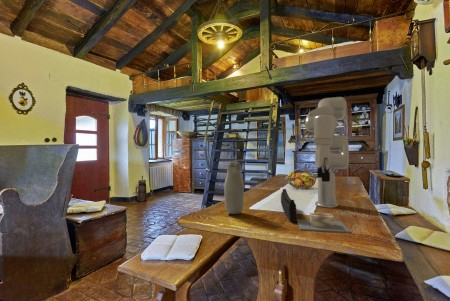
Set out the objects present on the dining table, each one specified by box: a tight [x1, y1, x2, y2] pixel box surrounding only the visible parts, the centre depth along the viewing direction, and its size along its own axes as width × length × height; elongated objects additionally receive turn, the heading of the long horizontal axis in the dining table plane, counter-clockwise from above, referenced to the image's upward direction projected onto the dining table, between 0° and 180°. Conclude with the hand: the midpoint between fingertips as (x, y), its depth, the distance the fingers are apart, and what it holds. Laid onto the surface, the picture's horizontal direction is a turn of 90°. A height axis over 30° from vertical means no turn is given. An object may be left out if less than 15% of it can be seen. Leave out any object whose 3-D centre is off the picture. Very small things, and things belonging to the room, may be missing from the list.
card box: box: [309, 212, 334, 227], centre depth 105 cm, size 9×5×5 cm, turn 77°
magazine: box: [280, 188, 298, 222], centre depth 123 cm, size 17×3×30 cm
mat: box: [296, 218, 351, 234], centre depth 105 cm, size 13×20×1 cm, turn 80°
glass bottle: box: [223, 160, 245, 215], centre depth 125 cm, size 10×10×28 cm
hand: (323, 179), depth 108 cm, fingers open, 9 cm apart
